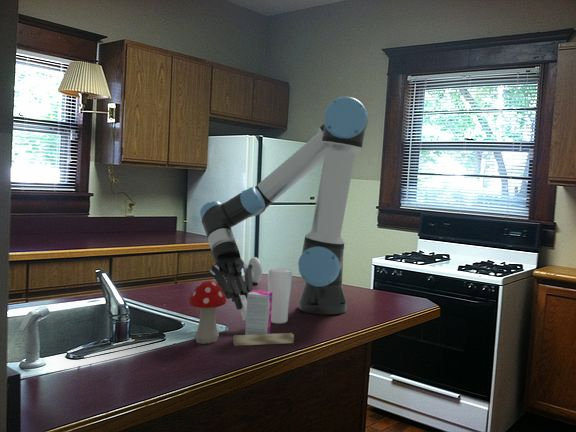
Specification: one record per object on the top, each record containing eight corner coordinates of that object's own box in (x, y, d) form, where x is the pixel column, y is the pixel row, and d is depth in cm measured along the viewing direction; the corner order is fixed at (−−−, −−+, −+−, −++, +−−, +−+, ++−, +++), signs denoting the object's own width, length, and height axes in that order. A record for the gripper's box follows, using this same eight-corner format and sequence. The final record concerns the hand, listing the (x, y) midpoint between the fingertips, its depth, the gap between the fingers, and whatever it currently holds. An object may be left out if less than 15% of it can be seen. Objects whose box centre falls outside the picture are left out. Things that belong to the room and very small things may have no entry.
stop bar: (291, 340, 145) (291, 332, 145) (293, 342, 143) (293, 335, 143) (233, 343, 141) (233, 335, 141) (234, 345, 139) (234, 337, 139)
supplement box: (267, 339, 145) (268, 295, 144) (244, 337, 146) (245, 293, 145) (271, 333, 150) (273, 290, 150) (249, 331, 151) (251, 289, 151)
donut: (246, 280, 224) (246, 255, 223) (254, 280, 226) (255, 255, 225) (254, 285, 215) (255, 259, 214) (263, 285, 216) (264, 259, 216)
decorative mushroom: (209, 348, 136) (210, 286, 135) (180, 342, 140) (182, 281, 139) (232, 338, 145) (234, 280, 144) (204, 333, 149) (206, 276, 148)
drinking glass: (276, 317, 168) (278, 267, 167) (294, 321, 164) (296, 270, 163) (261, 321, 162) (263, 269, 161) (280, 326, 158) (282, 272, 157)
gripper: (240, 254, 171) (264, 323, 158) (199, 256, 164) (220, 328, 151) (248, 239, 166) (274, 308, 153) (206, 240, 159) (229, 313, 146)
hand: (247, 318), depth 152 cm, fingers closed
